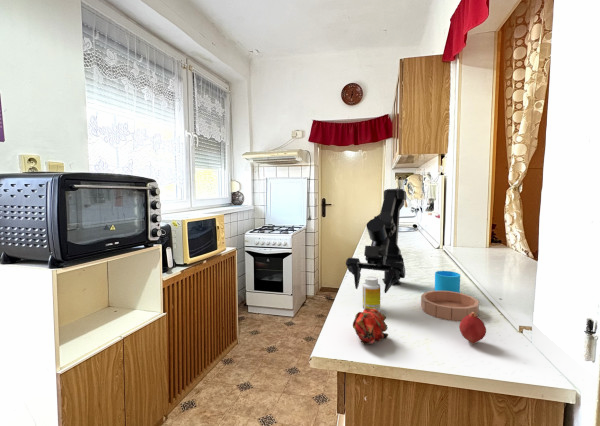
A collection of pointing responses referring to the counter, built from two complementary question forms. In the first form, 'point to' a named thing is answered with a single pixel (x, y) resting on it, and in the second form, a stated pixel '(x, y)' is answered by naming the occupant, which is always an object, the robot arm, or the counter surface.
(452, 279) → the mug
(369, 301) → the supplement bottle
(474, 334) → the onion
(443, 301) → the bowl
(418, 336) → the counter surface
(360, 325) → the dragon fruit
